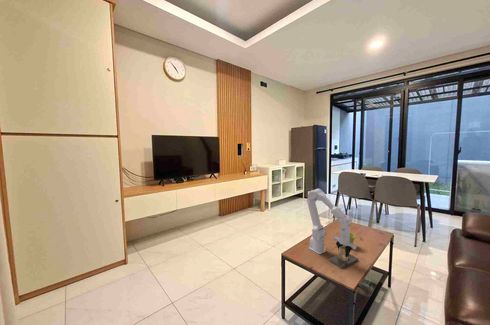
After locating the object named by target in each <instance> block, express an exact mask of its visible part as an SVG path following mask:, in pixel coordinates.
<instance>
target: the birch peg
mask: <svg viewBox="0 0 490 325" xmlns="http://www.w3.org/2000/svg"><path fill="white" fill-rule="evenodd" d="M338 254H339V259H340V260H342V261H344V262H346V261H348V257H346V251H345V246H344V245H343V246H341V247H339V250H338Z"/></svg>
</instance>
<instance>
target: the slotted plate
mask: <svg viewBox="0 0 490 325" xmlns="http://www.w3.org/2000/svg"><path fill="white" fill-rule="evenodd" d="M328 262H329V263H331V264H333V265H335V266H337V267H338V268H339V269H342V270H344V269H345V268H347V267H349V266H351V265H353V264H355V263H357V262H359V257H356V256H354V255H352V254H351V253H349V256H348V260H347V261H345V262H344V261H342V260H340V259H339V253H338V254H336V255H334V256H332V257H329V258H328Z"/></svg>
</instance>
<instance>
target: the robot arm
mask: <svg viewBox="0 0 490 325" xmlns="http://www.w3.org/2000/svg"><path fill="white" fill-rule="evenodd" d="M317 201H321V202H322V203H323V204H325V206H327V207H328V209H329V210H330V213H331V214H332V215H333V216H334V217H335V219H336V220H337V221H338V224H339V237H337V236H334V237H333V241H336V242H335V245H336V247H337V250H338V251H339V247H341V246H344V245H347V246H346V247H345V246H344V247H345V251H346V257H348V256H349V254H351V251H352V249H353V250H356V249H357V245H355V244H354V243H353V244H352V243H351V242H349V239H350V233H351V224H352V222H353V221H352V220H353V219H352V218H351V216H349V215H347V214H346V213H345V212H344V211H343V210H341V209H342V208H340V207H339V206H335V205H334V204H333V202H332V201H331V200H330V199H329V198H328V197H327V195H326V194H325V192H324V191H323V190H322V189H321V188H316V189H311V190H310V191H309V192H307V200H306V203H307V207H308V210H309V211H308V212H309V215H310V217H311V223H312V228H311V237H310V239H309V247H308V249H309V250H311V251H312V252H314V253H316V254H318V255H321V254H323V253H326V252H327V249H325V236H327V230H326V229H325V226H324V225H323V224H322V223H321V219H320V216H319V212H318V208H317V203H316V202H317ZM343 244H344V245H343Z"/></svg>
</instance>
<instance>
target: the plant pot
mask: <svg viewBox="0 0 490 325" xmlns="http://www.w3.org/2000/svg"><path fill="white" fill-rule="evenodd" d="M355 238H356V235H355V233H351V232H350V239H349V242H351V243H352V244H354V241H355ZM343 246H344V247H346V246H347V245H344V244H343Z"/></svg>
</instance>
